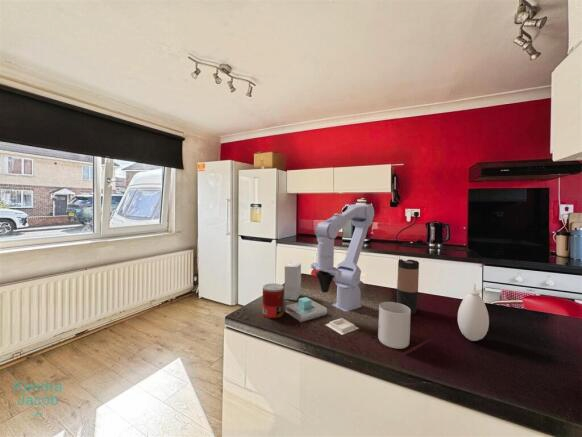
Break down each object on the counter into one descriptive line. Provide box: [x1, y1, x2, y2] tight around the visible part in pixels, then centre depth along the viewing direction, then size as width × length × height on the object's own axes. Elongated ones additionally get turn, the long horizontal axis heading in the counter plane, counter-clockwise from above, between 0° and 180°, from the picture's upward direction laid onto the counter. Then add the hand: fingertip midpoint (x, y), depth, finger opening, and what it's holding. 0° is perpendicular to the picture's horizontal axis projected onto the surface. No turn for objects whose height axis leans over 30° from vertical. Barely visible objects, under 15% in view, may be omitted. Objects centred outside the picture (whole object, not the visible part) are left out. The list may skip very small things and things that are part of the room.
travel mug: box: [396, 259, 420, 315], centre depth 101 cm, size 8×8×20 cm
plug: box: [297, 296, 312, 310], centre depth 96 cm, size 4×4×6 cm
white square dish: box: [324, 317, 360, 336], centre depth 86 cm, size 8×8×2 cm
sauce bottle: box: [457, 283, 490, 342], centre depth 79 cm, size 8×8×18 cm
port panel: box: [285, 299, 328, 323], centre depth 96 cm, size 12×10×3 cm
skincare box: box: [284, 262, 302, 301], centre depth 114 cm, size 8×6×15 cm
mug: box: [377, 301, 412, 350], centre depth 78 cm, size 12×9×11 cm
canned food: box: [262, 283, 285, 319], centre depth 95 cm, size 8×8×11 cm
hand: (324, 291), depth 93 cm, fingers closed
